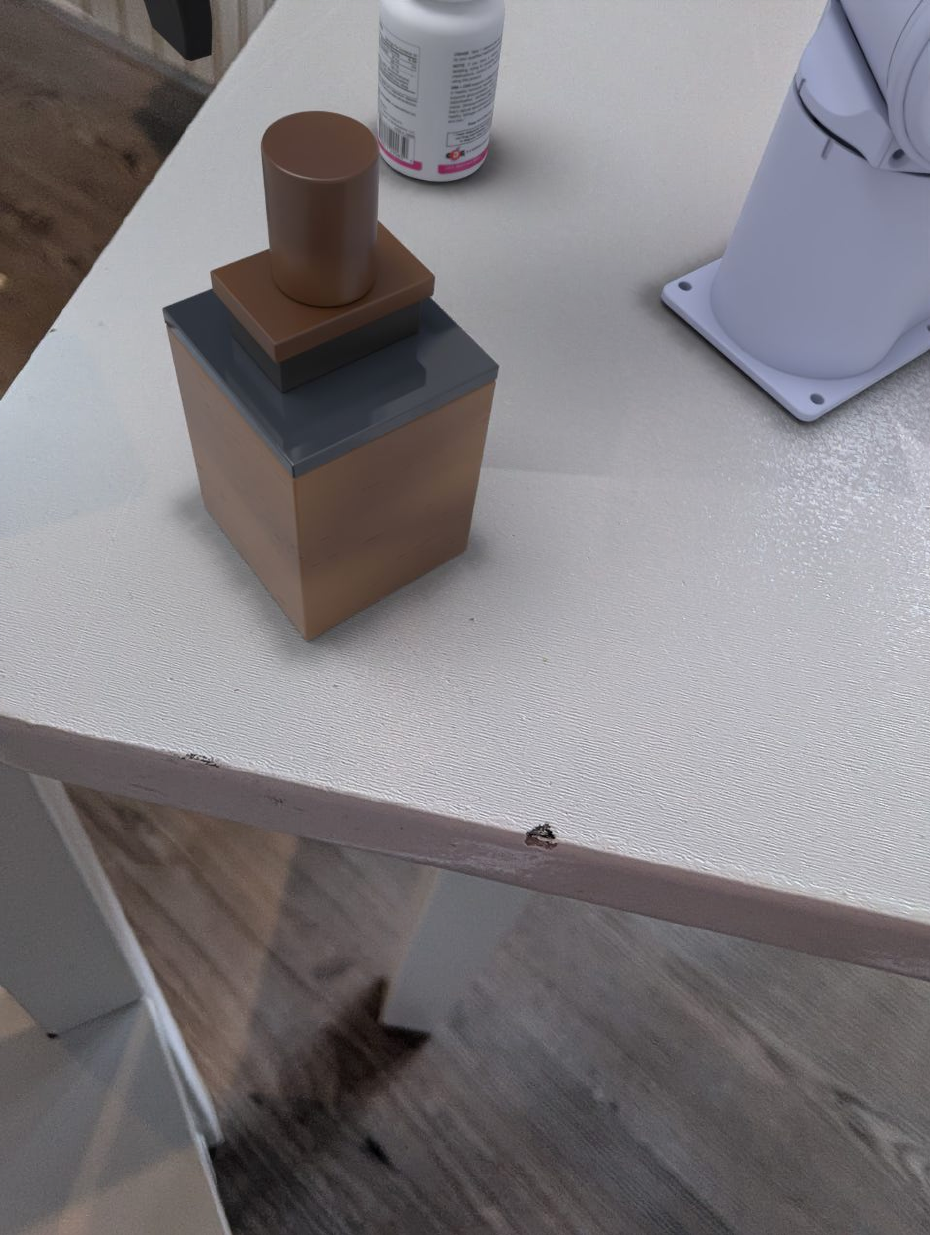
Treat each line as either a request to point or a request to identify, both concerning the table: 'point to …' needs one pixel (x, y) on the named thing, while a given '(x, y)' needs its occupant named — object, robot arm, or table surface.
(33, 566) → the table surface
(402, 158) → the pill bottle
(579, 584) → the table surface
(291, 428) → the tile
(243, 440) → the stand
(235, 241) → the table surface
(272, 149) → the rubber stamp
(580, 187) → the table surface
